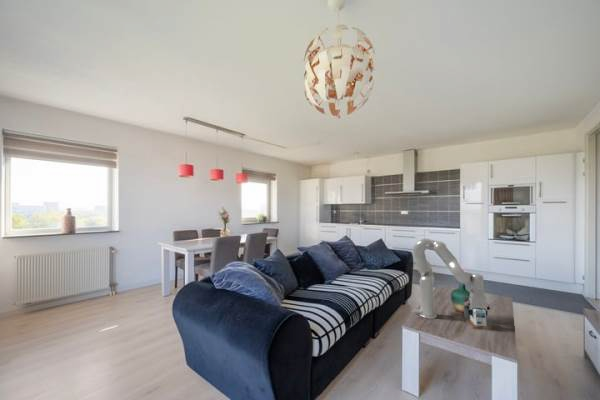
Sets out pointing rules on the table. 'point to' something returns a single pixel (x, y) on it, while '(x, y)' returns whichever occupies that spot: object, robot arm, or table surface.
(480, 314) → the light bulb box
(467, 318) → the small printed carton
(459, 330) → the table surface
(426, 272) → the robot arm
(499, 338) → the table surface
